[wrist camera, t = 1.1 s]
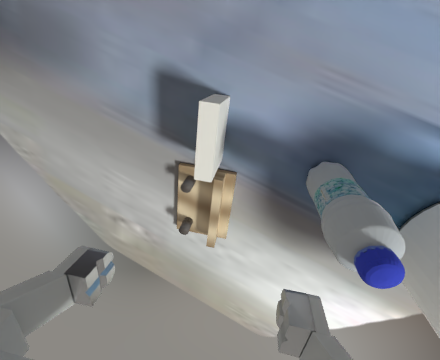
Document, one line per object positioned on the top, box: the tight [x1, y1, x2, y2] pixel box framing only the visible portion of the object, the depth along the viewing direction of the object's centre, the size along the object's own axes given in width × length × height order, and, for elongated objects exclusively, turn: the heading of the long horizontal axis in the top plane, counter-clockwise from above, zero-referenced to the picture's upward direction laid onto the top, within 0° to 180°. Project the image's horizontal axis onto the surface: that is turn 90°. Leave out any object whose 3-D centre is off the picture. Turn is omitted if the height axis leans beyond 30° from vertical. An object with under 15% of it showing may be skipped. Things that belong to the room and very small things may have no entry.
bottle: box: [306, 162, 405, 289], centre depth 27 cm, size 7×7×20 cm
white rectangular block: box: [194, 94, 230, 183], centre depth 31 cm, size 10×2×9 cm, turn 173°
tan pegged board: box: [177, 163, 237, 248], centre depth 40 cm, size 14×10×4 cm
